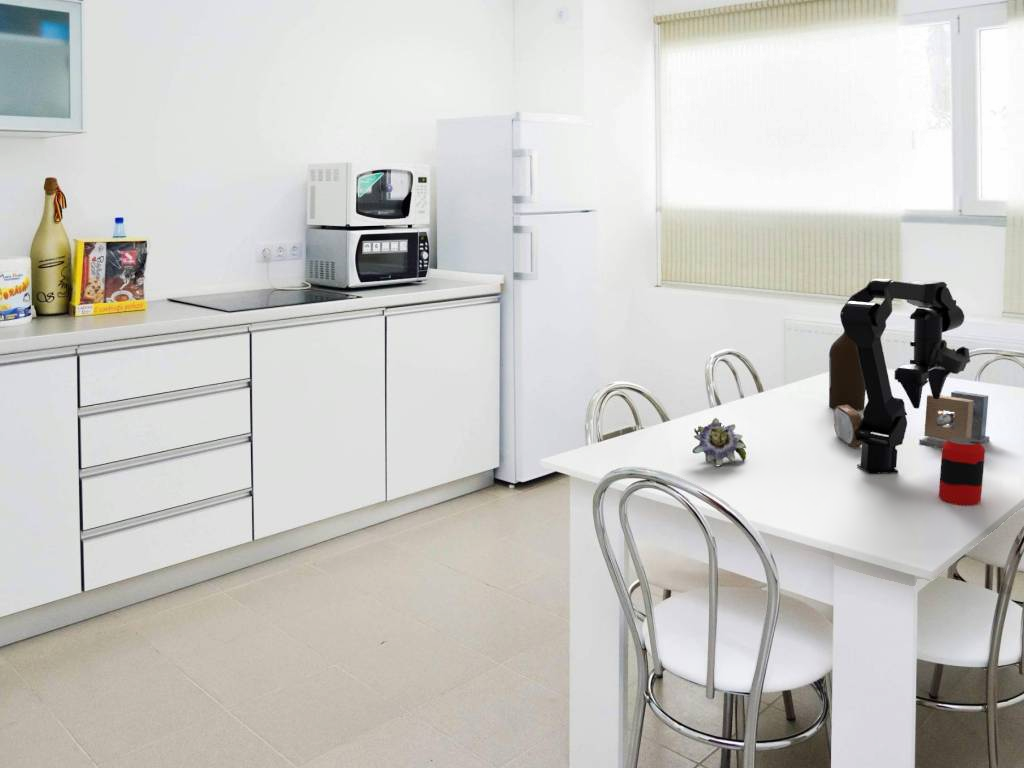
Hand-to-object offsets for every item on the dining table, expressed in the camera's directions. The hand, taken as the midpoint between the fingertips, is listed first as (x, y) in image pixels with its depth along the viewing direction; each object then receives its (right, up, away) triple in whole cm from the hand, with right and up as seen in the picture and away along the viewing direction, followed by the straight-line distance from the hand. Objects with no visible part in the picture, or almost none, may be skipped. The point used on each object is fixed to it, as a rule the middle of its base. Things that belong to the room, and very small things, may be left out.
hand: (926, 403), depth 217 cm
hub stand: (+12, -10, +13) cm, 20 cm away
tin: (-13, -10, +15) cm, 22 cm away
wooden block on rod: (+9, -9, +10) cm, 16 cm away
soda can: (-6, -19, -29) cm, 35 cm away
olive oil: (0, -2, +52) cm, 52 cm away
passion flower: (-47, -13, +1) cm, 49 cm away
